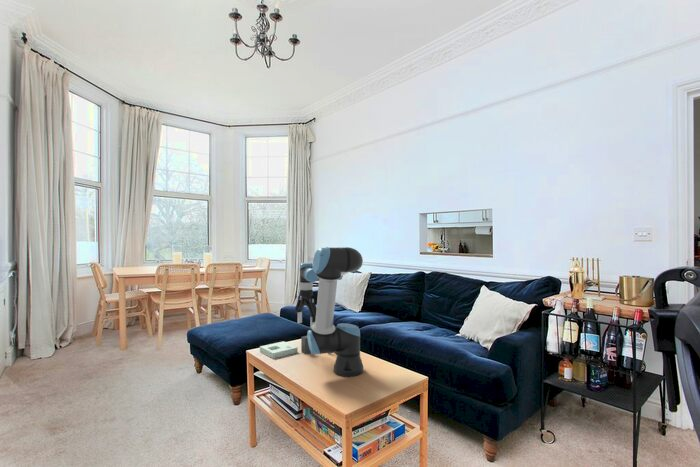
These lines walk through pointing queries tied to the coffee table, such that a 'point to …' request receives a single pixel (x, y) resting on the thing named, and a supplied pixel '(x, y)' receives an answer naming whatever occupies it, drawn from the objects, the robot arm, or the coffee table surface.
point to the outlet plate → (278, 349)
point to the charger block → (305, 345)
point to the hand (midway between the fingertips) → (306, 325)
